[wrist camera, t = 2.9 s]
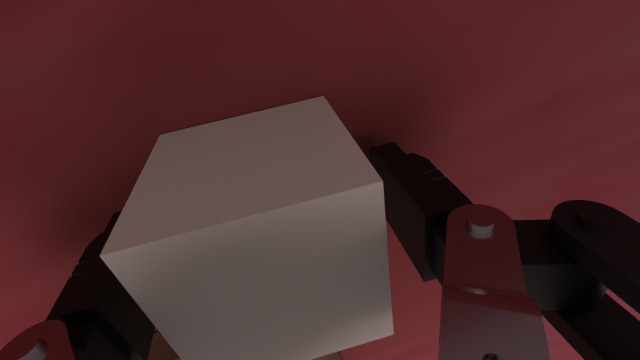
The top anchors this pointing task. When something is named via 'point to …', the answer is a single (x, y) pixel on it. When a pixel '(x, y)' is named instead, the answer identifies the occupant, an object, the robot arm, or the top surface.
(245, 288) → the pale grey cube block
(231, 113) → the top surface
